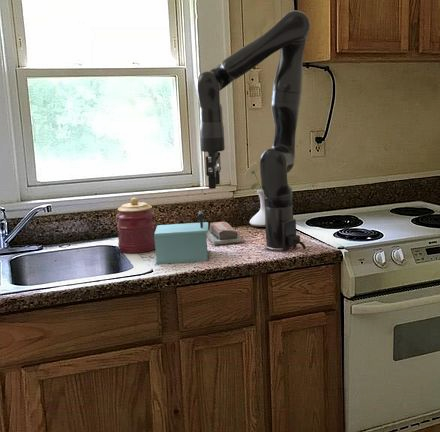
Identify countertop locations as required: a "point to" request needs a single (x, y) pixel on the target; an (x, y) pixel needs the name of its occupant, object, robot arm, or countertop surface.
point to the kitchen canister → (136, 227)
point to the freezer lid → (183, 228)
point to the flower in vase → (260, 216)
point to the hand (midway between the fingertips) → (214, 186)
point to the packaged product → (222, 234)
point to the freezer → (181, 248)
